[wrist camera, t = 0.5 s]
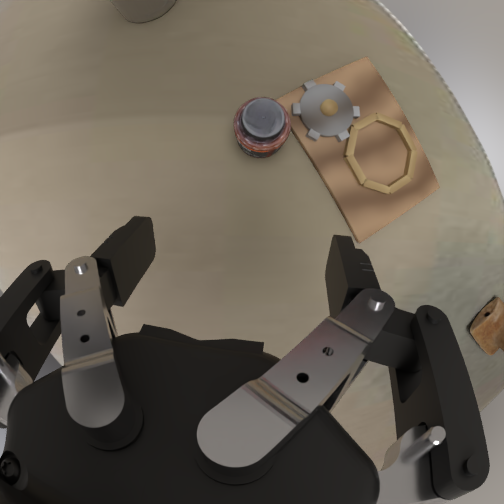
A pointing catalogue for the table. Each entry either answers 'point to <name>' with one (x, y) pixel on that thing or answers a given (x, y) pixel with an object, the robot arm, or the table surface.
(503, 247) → the table surface
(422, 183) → the board
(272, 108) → the supplement bottle
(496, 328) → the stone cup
